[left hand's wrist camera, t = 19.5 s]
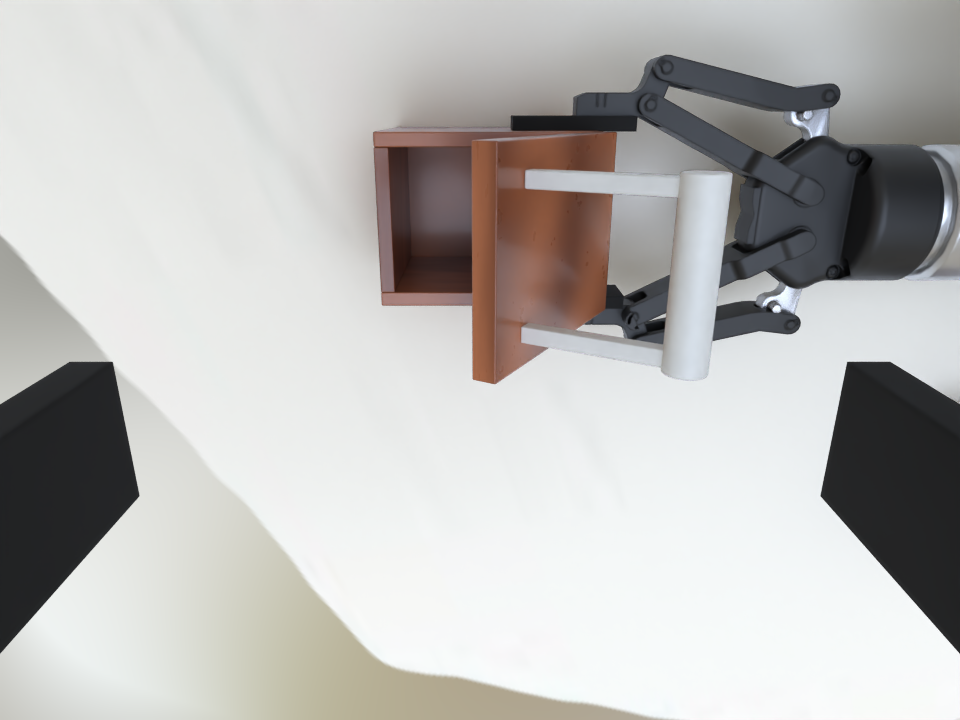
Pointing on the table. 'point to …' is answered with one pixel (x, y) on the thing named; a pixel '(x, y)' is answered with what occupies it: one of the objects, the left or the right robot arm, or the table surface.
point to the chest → (428, 211)
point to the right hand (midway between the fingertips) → (510, 213)
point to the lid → (582, 253)
